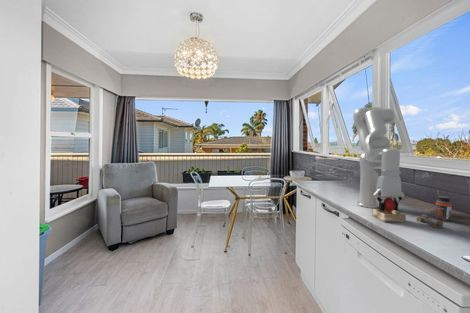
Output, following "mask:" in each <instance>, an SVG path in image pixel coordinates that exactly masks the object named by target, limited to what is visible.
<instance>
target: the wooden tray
mask: <svg viewBox="0 0 470 313" xmlns="http://www.w3.org/2000/svg"><path fill="white" fill-rule="evenodd" d="M406 215H407V214H406V213H404V212H403V213H402V212H400V211H395V210H393V211H391V212H387V211H386V210H385V211H382V210H380V209H379V208H371V216H372V217H374V218H376V219H378V220H379V221H381V222H384V223H406V222H407V219H406V218H407V216H406Z"/></svg>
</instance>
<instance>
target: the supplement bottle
mask: <svg viewBox="0 0 470 313" xmlns="http://www.w3.org/2000/svg"><path fill="white" fill-rule="evenodd" d="M452 206H453V204H452V202H451V201H450V197H449V196H446V195H439V196H438V199H437V200H436V201H435V210H434V211H435V212H434V217H435V220H439V221H442V222H450V221H451V220H452Z"/></svg>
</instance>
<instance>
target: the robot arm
mask: <svg viewBox="0 0 470 313" xmlns="http://www.w3.org/2000/svg"><path fill="white" fill-rule="evenodd" d="M352 115H353V117H352V120H353V124H354V126H355V128H356V131H357V135H358V141H359V147H360V150H361V151H362V153H361V154H360V156H359V157H358V158H359V159H358V162H359V168H360V178H359V179H360V180H359V181H360V183H359V184H360V185H359V196H358V197H357V198H358V199H359V200H358V201H356V205H357V206H360V207H364V208H371V209H380V210H382V211H385V203H384V200H385V199H386V198H388V197H390V198H391V199H393V200H394V202H395V204H396V207H395V209H394V210H395V211H398V209H399V203H400V202H401V201H402V199H403V198H404V197H405V193H404V192H403V191H402V180H401V177H400V175H401V174H402V171H400V165H401V164H400V163H401V161H400V160H401V151H400V149H399V148H393V147H392V145H391V140H390V139H389V137H387V136H386V134H387V132H388V129H387V126H386V125H388V124H393V122H395V119H396V118H395V117H396V115H395V112H394V110H393V109H391V108H389V107H384V106H383V107H379V106H378V107H377V106H376V107H359V108H357V109H355V110H354V112H353V114H352ZM375 169H376V170H378V169H380V175H379V174H378V172H377V171H376V170H375ZM398 212H399V211H398Z"/></svg>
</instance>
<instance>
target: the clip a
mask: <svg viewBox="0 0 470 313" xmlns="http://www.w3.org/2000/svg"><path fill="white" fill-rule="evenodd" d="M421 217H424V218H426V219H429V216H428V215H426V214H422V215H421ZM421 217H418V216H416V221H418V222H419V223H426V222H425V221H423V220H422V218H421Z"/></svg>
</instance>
